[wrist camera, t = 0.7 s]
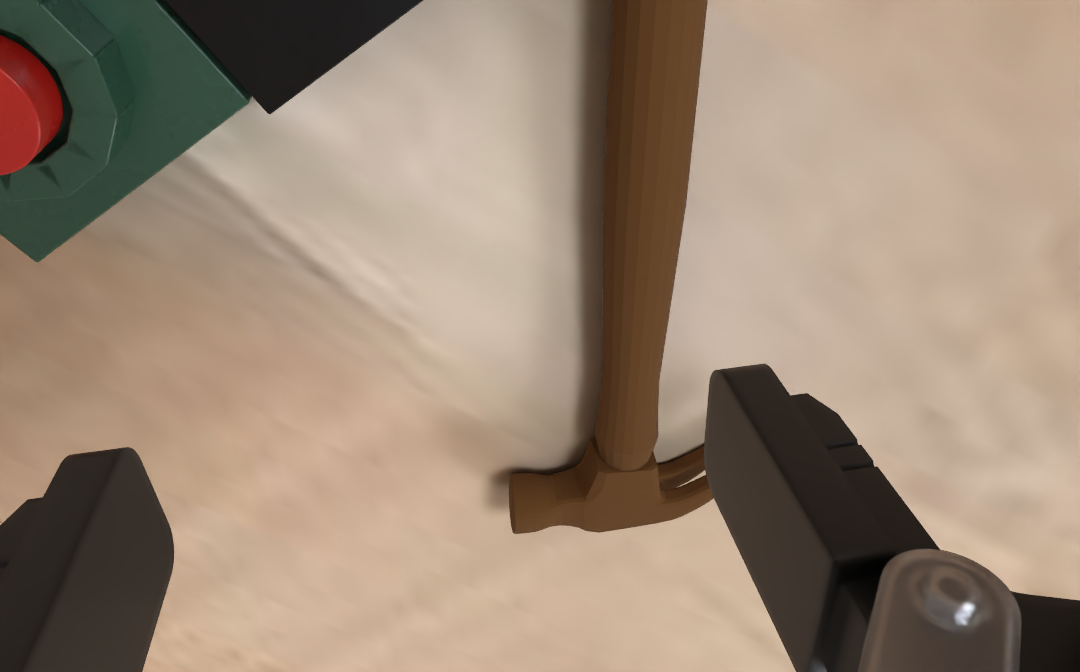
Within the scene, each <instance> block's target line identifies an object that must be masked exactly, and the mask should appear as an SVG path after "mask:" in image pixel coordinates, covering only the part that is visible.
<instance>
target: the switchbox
mask: <svg viewBox="0 0 1080 672" xmlns="http://www.w3.org/2000/svg"><path fill="white" fill-rule="evenodd" d="M0 35H2V36H4V37H7V38H9V39H11V40H13V41H15V42H16V43H18V44H20V45H21V46H23V47H24V48H26V49H27V50H28V51H30V52H31V53H32V54H33V55H34V56H35V57H37V58H38V59H39V61H40V62H41V63H42V64H43V65H44V66H45V67H46V68H47V70H48V71H49V72H50V74H51V75H52V77H53V79H54V80H55V82H56V84H57V86H58V89H59V92H60V94H61V98H62V103H63V120H62V123H61V127H60V129H59V131H58V133H57V134H56V136H55V137H54V138H53V139H52V140H51V141H50V142H49V143H48V144H47V145H46V146H45V147H44V148H43V149H42V150H41V151H40V152H39V153H38V154H37V155H36V156H35V157H34V158H33V159H32V160H31V161H30V162H29V163H28V164H27V165H26V166H24V167H23V168H21V169H20V170H17V171H15V172H13V173H9V174H5V175H0V234H1V235H2V236H3V237H5V238H6V239H7V240H8V241H10V242H11V243H12V244H14V245H15V246H16V247H17V248H19V249H20V250H21V251H22V252H24V253H25V254H26V255H28V256H29V257H30V258H31V259H33V260H34V261H35V262H40V261H41V260H42V259H44V258H45V257H46V256H48V255H49V254H50V253H52V252H53V251H54V250H56V249H57V248H58V247H60V246H61V245H62V244H63V243H65V242H66V241H67V240H69V239H70V238H71V237H73V236H74V235H75V234H77V233H78V232H79V231H81V230H82V229H83V228H85V227H86V226H87V225H89V224H90V223H91V222H93V221H94V220H95V219H96V218H98V217H99V216H100V215H102V214H103V213H104V212H106V211H107V210H108V209H110V208H111V207H112V206H114V205H115V204H116V203H118V202H119V201H120V200H122V199H123V198H124V197H126V196H127V195H128V194H129V193H131V192H132V191H133V190H135V189H136V188H137V187H139V186H140V185H141V184H143V183H144V182H145V181H147V180H148V179H149V178H151V177H152V176H153V175H155V174H156V173H157V172H159V171H160V170H161V169H162V168H164V167H165V166H166V165H168V164H169V163H170V162H172V161H173V160H174V159H176V158H177V157H178V156H180V155H181V154H182V153H184V152H185V151H186V150H188V149H189V148H190V147H191V146H193V145H194V144H195V143H197V142H198V141H199V140H201V139H202V138H203V137H205V136H206V135H207V134H209V133H210V132H211V131H213V130H214V129H215V128H217V127H218V126H219V125H221V124H222V123H223V122H224V121H226V120H227V119H228V118H230V117H231V116H232V115H234V114H235V113H236V112H238V111H239V110H240V109H242V108H243V107H244V106H246V105H247V104H248V103H249V102H250V100H251V98H252V95H251V94H250V93H249V92H248V91H247V90H246V89H245V88H244V87H243V86H242V84H241V83H240V82H239V81H238V80H237V79H236V78H235V77H234V76H233V75H232V74H231V72H230V71H229V70H228V69H227V68H226V67H225V66H224V65H223V64H222V63H221V62H220V60H219V59H218V58H217V57H216V56H215V55H214V54H213V53H212V52H211V51H210V49H209V48H208V47H207V46H206V45H205V44H204V43H203V42H202V41H201V40H200V39H199V37H198V36H197V35H196V34H195V33H194V32H193V31H192V30H191V29H190V28H189V26H188V25H187V24H186V23H185V22H184V21H183V20H182V19H181V18H180V17H179V16H178V14H177V13H176V12H175V11H174V10H173V9H172V8H171V7H170V6H169V5H168V4H167V2H166V1H165V0H0Z"/></svg>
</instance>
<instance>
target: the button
mask: <svg viewBox="0 0 1080 672" xmlns="http://www.w3.org/2000/svg"><path fill="white" fill-rule="evenodd" d="M62 120H63V103H62V98H61V94H60V92H59V89H58V86H57V84H56V82H55V80H54V79H53V77H52V75H51V74H50V72H49V71H48V70H47V68H46V67H45V66H44V65H43V64H42V63H41V62H40V61H39V59H38V58H37V57H35V56H34V55H33V54H32V53H31V52H30V51H28V50H27V49H26V48H24V47H23V46H21V45H20V44H18V43H16V42H15V41H13V40H11V39H9V38H7V37H4V36H2V35H0V175H5V174H9V173H13V172H15V171H17V170H20V169H21V168H23V167H24V166H26V165H27V164H28V163H29V162H30V161H31V160H32V159H33V158H34V157H35V156H36V155H37V154H38V153H39V152H40V151H41V150H42V149H43V148H44V147H45V146H46V145H47V144H48V143H49V142H50V141H51V140H52V139H53V138H54V137H55V136H56V134H57V133H58V131H59V129H60V127H61V123H62Z"/></svg>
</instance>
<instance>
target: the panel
mask: <svg viewBox="0 0 1080 672" xmlns="http://www.w3.org/2000/svg"><path fill="white" fill-rule="evenodd" d="M165 1H166V2H167V4H168V5H169V6H170V7H171V8H172V9H173V10H174V11H175V12H176V13H177V14H178V16H179V17H180V18H181V19H182V20H183V21H184V22H185V23H186V24H187V25H188V26H189V28H190V29H191V30H192V31H193V32H194V33H195V34H196V35H197V36H198V37H199V39H200V40H201V41H202V42H203V43H204V44H205V45H206V46H207V47H208V48H209V49H210V51H211V52H212V53H213V54H214V55H215V56H216V57H217V58H218V59H219V60H220V62H221V63H222V64H223V65H224V66H225V67H226V68H227V69H228V70H229V71H230V72H231V74H232V75H233V76H234V77H235V78H236V79H237V80H238V81H239V82H240V83H241V84H242V86H243V87H244V88H245V89H246V90H247V91H248V92H249V93H250V94H251V95H252V97H253V98H254V99H255V100H256V101H257V102H258V103H259V104H260V105H261V106H262V107H263V109H264V110H265V111H266V112H267V113H268V114H271V113H273V112H274V111H275V110H277V109H278V108H279V107H281V106H282V105H283V104H285V103H286V102H288V101H289V100H290V99H292V98H293V97H294V96H296V95H297V94H298V93H300V92H301V91H302V90H304V89H305V88H306V87H308V86H309V85H310V84H312V83H313V82H314V81H316V80H317V79H318V78H320V77H321V76H322V75H324V74H325V73H326V72H328V71H329V70H330V69H332V68H333V67H334V66H336V65H337V64H338V63H340V62H341V61H342V60H344V59H345V58H346V57H348V56H349V55H351V54H352V53H353V52H355V51H356V50H357V49H359V48H360V47H361V46H363V45H364V44H365V43H367V42H368V41H369V40H371V39H372V38H373V37H375V36H376V35H377V34H379V33H380V32H381V31H383V30H384V29H385V28H387V27H388V26H389V25H391V24H392V23H393V22H395V21H396V20H397V19H399V18H400V17H401V16H403V15H404V14H405V13H407V12H408V11H409V10H411V9H412V8H414V7H415V6H416V5H418V4H419V3H420V2H422V1H423V0H165Z"/></svg>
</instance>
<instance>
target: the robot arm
mask: <svg viewBox="0 0 1080 672" xmlns="http://www.w3.org/2000/svg"><path fill="white" fill-rule="evenodd" d="M704 464H705V471H706V476H707V480H708V484H709V487H710V490H711V492H712V495H713V497H714V499H715V501H716V503H717V505H718V507H719V510H720V512H721V514H722V516H723V518H724V520H725V522H726V524H727V526H728V529H729V531H730V533H731V535H732V537H733V539H734V541H735V543H736V545H737V548H738V550H739V552H740V554H741V556H742V558H743V560H744V562H745V564H746V567H747V569H748V571H749V573H750V575H751V577H752V579H753V581H754V583H755V586H756V588H757V590H758V592H759V594H760V596H761V598H762V600H763V602H764V605H765V607H766V609H767V611H768V613H769V615H770V617H771V619H772V622H773V624H774V626H775V628H776V630H777V632H778V634H779V636H780V638H781V641H782V643H783V645H784V647H785V649H786V651H787V653H788V655H789V657H790V660H791V662H792V664H793V666H794V668H795V670H796V672H1080V601H1079V600H1070V599H1062V598H1053V597H1045V596H1036V595H1028V594H1022V593H1016V592H1012V591H1010V590H1009V589H1008V587H1007V586H1006V585H1005V584H1004V583H1003V582H1002V581H1001V580H1000V579H999V578H998V577H997V576H996V575H994V574H993V573H992V572H991V571H989V570H988V569H986V568H985V567H983V566H982V565H980V564H978V563H977V562H974V561H972V560H970V559H968V558H966V557H964V556H961V555H958V554H955V553H952V552H948V551H944V550H940V549H939V548H938V546H937V545H936V544H935V542H934V541H933V540H932V538H931V537H930V536H929V534H928V533H927V532H926V530H925V529H924V528H923V526H922V525H921V524H920V522H919V521H918V520H917V518H916V517H915V516H914V514H913V513H912V512H911V510H910V509H909V508H908V507H907V505H906V504H905V503H904V501H903V500H902V499H901V497H900V496H899V495H898V493H897V492H896V491H895V489H894V488H893V487H892V485H891V484H890V483H889V481H888V480H887V479H886V477H885V476H884V475H883V473H882V472H881V471H880V469H879V468H878V467H874V465H873V460H872V459H871V457H870V456H869V455H868V453H867V452H866V451H865V449H864V448H863V447H862V445H858V443H857V439H856V437H855V436H854V435H853V433H852V432H851V431H850V429H849V428H848V427H847V425H846V424H845V423H844V421H843V420H842V419H841V417H840V416H839V415H838V414H837V413H836V412H834V411H833V410H831V409H830V408H828V407H827V406H825V405H824V404H822V403H821V402H819V401H818V400H816V399H815V398H813V397H812V396H810V395H809V394H807V393H805V394H798V395H791V396H790V395H789V393H788V392H787V390H786V389H785V387H784V386H783V385H782V383H781V382H780V380H779V379H778V377H777V376H776V374H775V373H774V372H773V370H772V369H771V368H770V367H769V366H768V365H766V364H758V365H750V366H743V367H735V368H728V369H720V370H715V371H713V373H712V375H711V378H710V384H709V395H708V407H707V419H706V431H705V443H704ZM173 563H174V544H173V537H172V532H171V528H170V526H169V523H168V521H167V518H166V516H165V514H164V512H163V509H162V507H161V505H160V502H159V500H158V498H157V496H156V493H155V491H154V489H153V486H152V484H151V482H150V480H149V477H148V475H147V473H146V470H145V468H144V466H143V464H142V461H141V459H140V457H139V455H138V454H137V452H136V451H135V450H134V449H132V448H129V447H126V448H118V449H111V450H103V451H96V452H88V453H81V454H73V455H69V456H67V457H66V458H65V459H64V460H63V461H62V463H61V464H60V466H59V468H58V470H57V472H56V474H55V475H54V477H53V479H52V481H51V483H50V485H49V487H48V489H47V491H46V493H45V494H44V496H43V497H42V498H35V499H28V500H27V501H26V502H25V503H24V504H22V505H21V506H20V507H19V508H18V509H17V510H16V511H15V512H14V513H13V514H12V515H11V516H10V517H9V518H8V519H7V520H6V521H5V522H3V523H2V524H1V525H0V672H142V670H143V667H144V664H145V660H146V657H147V654H148V650H149V647H150V644H151V640H152V637H153V634H154V630H155V627H156V624H157V620H158V617H159V614H160V610H161V607H162V604H163V600H164V597H165V594H166V590H167V587H168V584H169V581H170V577H171V574H172V570H173Z"/></svg>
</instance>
